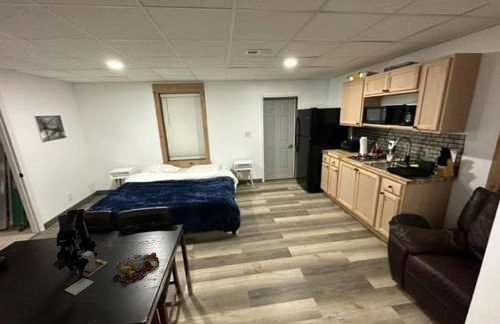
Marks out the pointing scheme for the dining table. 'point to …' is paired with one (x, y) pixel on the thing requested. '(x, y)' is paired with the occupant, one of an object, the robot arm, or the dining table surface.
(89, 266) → the skincare box
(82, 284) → the ceramic coaster
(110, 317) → the dining table surface
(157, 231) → the dining table surface
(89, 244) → the robot arm
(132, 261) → the candy landscape model
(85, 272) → the frame
